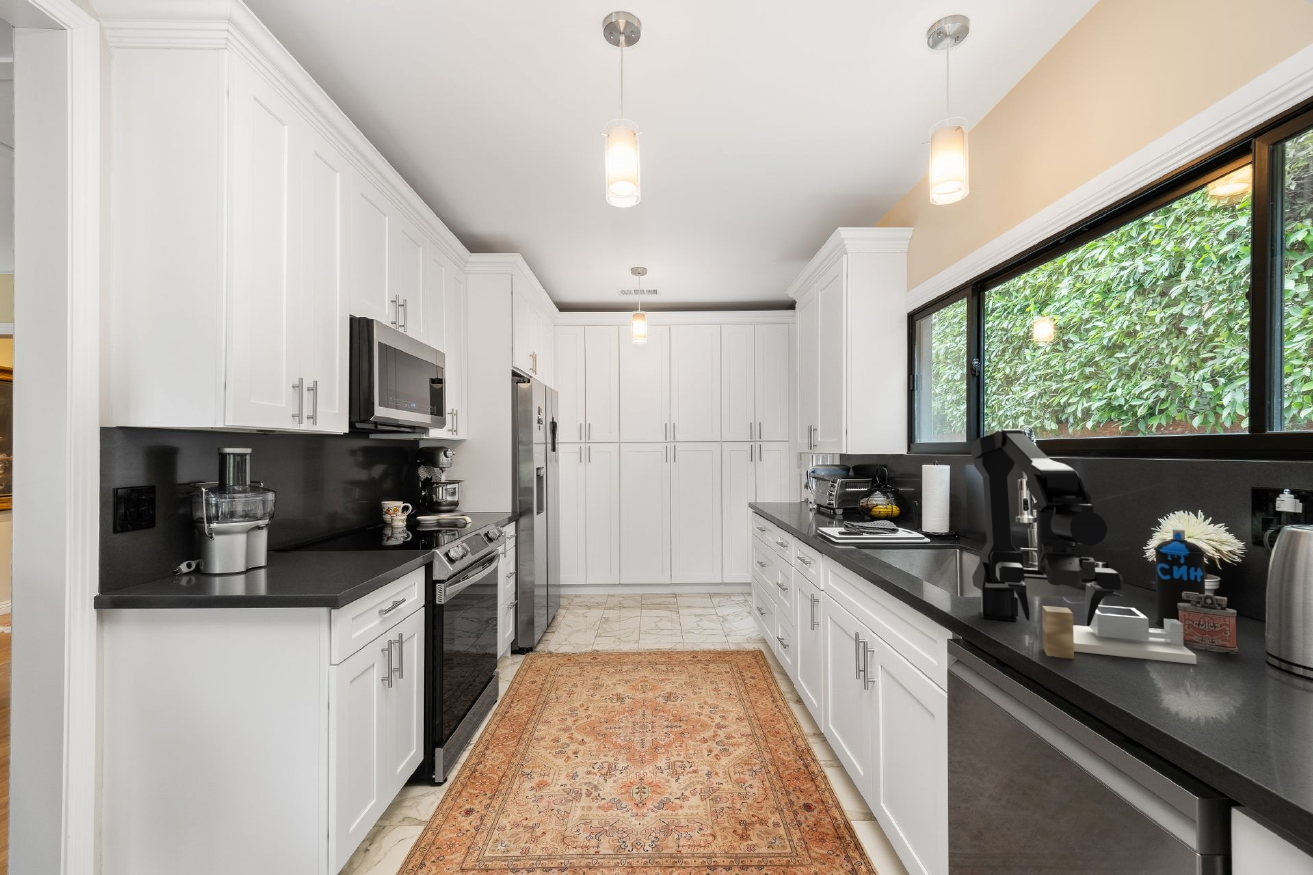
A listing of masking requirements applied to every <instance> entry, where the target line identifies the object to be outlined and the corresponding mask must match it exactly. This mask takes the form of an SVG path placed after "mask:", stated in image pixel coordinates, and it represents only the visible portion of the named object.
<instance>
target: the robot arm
mask: <svg viewBox="0 0 1313 875" xmlns="http://www.w3.org/2000/svg"><path fill="white" fill-rule="evenodd" d="M970 455H971V457H972V459H973V465H974V468H975V469H976V471H978V472H979V474H980V475H981V477H982V482H983V496H984V497H983V500H984V513H985V515H984V516H985V532H986V533H985V534H986V543H985V545H984V547H983V548H982V550H981V552H980V553H979V560H978V561H979V563H978V564H977V566H976V569H975V570H974V572H973V574H972V578H971V579H972V583H973V584H972V585H973V587H975V588H977V589H979V590H980V604H981V605H980V606H981V607H980V609H979V611H980V612H979V613H980V614H981V616H982V618H983V619H989V620H1001V621H1011V622H1016V621H1017V620H1018V619H1017V618H1018V617H1019V604H1020V606H1021V609H1022V612H1023V615H1024V617H1025V620H1026V621H1027V622H1029V621H1030V608H1029V602H1028V601H1029V600H1028V594H1027V585H1026V583H1025V580H1026V579H1027V580H1028V579H1030V580H1046V581H1047V582H1048V583H1049V584H1050V585H1052V586H1071V587H1075V588H1076V587H1077V588H1078V587H1081V586H1082V583H1085V597H1084V598H1085V600H1084V621H1085V622H1084V623H1085V626H1088V627H1089V626H1090V624H1091V622H1092V619H1093V617H1094V615H1095V612H1096V609H1097V608H1098V606H1099V605H1100V604H1101V602H1102V600H1103V599H1104V598H1106V597H1107V596H1108V595H1114V594H1115V591H1124V589H1125V588H1124V579H1123V575H1121V574H1120V573H1119V572H1118V571H1116V570H1115V569H1112V568H1109V567H1108V568H1106V567H1096V561H1095V560H1094V558H1093V557H1088V556H1087V557H1083V556H1081V557H1078V556H1077V552H1076V545H1075V544H1079V545H1082V546H1086V547H1090V546H1096V545H1098V544H1100V543H1101V542H1102V541H1104V539H1105V538H1106V536H1107V534H1108V526H1107V523H1106V521H1105V520H1104V518H1103V517H1102V516H1101V515H1100V514H1098V513H1097V512H1094V511H1095V510H1094V505H1093V502H1092V500H1091V499H1092V496H1091V495H1090V493H1089V492H1088V490H1087V488H1086V486H1085V485H1084V482H1083V480H1082V478H1081V477H1080V476H1079V474H1078V472H1077V471H1076V470H1075V469H1074V468H1072V467H1071V466H1069V465H1067V464H1066V463H1062V462H1058V461H1055V460H1052V459H1050V458H1049V457H1048V456H1047V455H1046V454H1045V453H1044V452H1043V451H1042V450H1041V449H1040V448H1039V447H1038V446H1037V445H1036V444H1035V443H1034V442H1033V441H1032V440H1031V439H1030V438H1029V437H1028V436H1027V432H1026V431H1025V430H1023V429H1021V428H1005V429H1004V428H1003V429H999V430H996V431H995V432H994V433H991V434H988V435H985V436H981V437H978V438H976V440H975V441H974V442H972V444H971V446H970ZM1015 466H1018V468H1019V469H1020V470H1021V471H1022V472H1023V474H1025V476H1026V482H1025V486H1026V488H1027V490H1028V491H1029V493H1030V495H1031V496H1032V497H1033V499H1034V500H1035V501H1036V502H1034V503H1032V505H1031V509H1032V510H1035V511H1036V512H1035V514H1036V558H1037V560H1036V561H1037V565H1036V566H1037V568H1030V567H1029V568H1027V567H1025V565H1024V555H1023V553H1022V552H1021V551H1018V549H1017V548H1016V547H1015V545H1014V544H1013V540H1012V539H1013V537H1012V536H1013V535H1012V524H1011V508H1010V505H1011V504H1010V495H1009V494H1010V491H1009V475H1010V474H1011V472H1012V471H1013V469H1014V467H1015ZM1015 594H1016V595H1015Z"/></svg>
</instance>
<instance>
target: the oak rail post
mask: <svg viewBox="0 0 1313 875" xmlns="http://www.w3.org/2000/svg"><path fill="white" fill-rule="evenodd" d="M1041 607H1042V608H1041V609H1042V610H1041V612H1042V614H1041V615H1042V616H1041V617H1042V649H1044V650H1043V651H1044V653H1045V654H1046V657H1053V656H1054V657H1055V658H1063V659H1073V660H1074V659H1075V651H1074V634H1073V625H1074V613H1073V612H1072V611H1071V610H1070V609H1069V607H1061V606H1049V605H1042V606H1041Z"/></svg>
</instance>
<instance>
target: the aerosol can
mask: <svg viewBox="0 0 1313 875" xmlns="http://www.w3.org/2000/svg"><path fill="white" fill-rule="evenodd" d="M1153 550H1154V552H1155V553H1154V555H1155V579H1156V580H1155V584H1156V586H1155V589H1156V590H1155V591H1156V619H1155V623H1156V624H1157V625H1159V626H1160V627H1161V626H1162V627H1164V619H1176V620H1178V621H1179V608H1178V603H1188V604H1191V601H1192V600H1189V599H1183V598H1182V593H1184V592H1192V593H1199V594H1200V595H1204V594H1205V593H1206V580H1205V579H1206V572H1205V569H1206V567H1205V555H1206V553H1207V552H1206V551H1205V550H1203V548H1201V547H1200V545H1198V544H1196V543H1194V542H1191V541H1189V540H1187V539H1186V530H1185V529H1180V528H1173V529H1172V538H1171V539H1170V540H1169V539H1167V540H1164V541H1162V542H1160V543H1158V544H1157V545H1156V546H1154V547H1153ZM1196 601H1197V600H1196ZM1201 602H1202V601H1197V604H1198V605H1200V603H1201Z"/></svg>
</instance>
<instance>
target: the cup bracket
mask: <svg viewBox="0 0 1313 875" xmlns="http://www.w3.org/2000/svg"><path fill="white" fill-rule="evenodd" d="M1149 621H1150V620H1149V617H1147V616H1146V615H1144V614H1143V613H1141V611H1139V610H1137V608H1135V607H1126V606H1113V605H1100V604H1099V606H1098V608H1097V609H1096V612H1095V615H1094V617H1093V619H1092V622H1091V624H1090V626H1088V627H1090V628H1091V629H1092V630H1093V631H1094V633H1095V634H1096V635H1097V636H1103V637H1114V638H1124V639H1135V640H1145V641H1149V638H1159V639H1164V640H1165V641H1166V642H1167V643H1169V644H1170V645H1175V646H1184V645H1183V624H1182V623H1181V622H1179V621H1178V620H1176V619H1164V626H1163V629H1162V628H1151V627H1149Z"/></svg>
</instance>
